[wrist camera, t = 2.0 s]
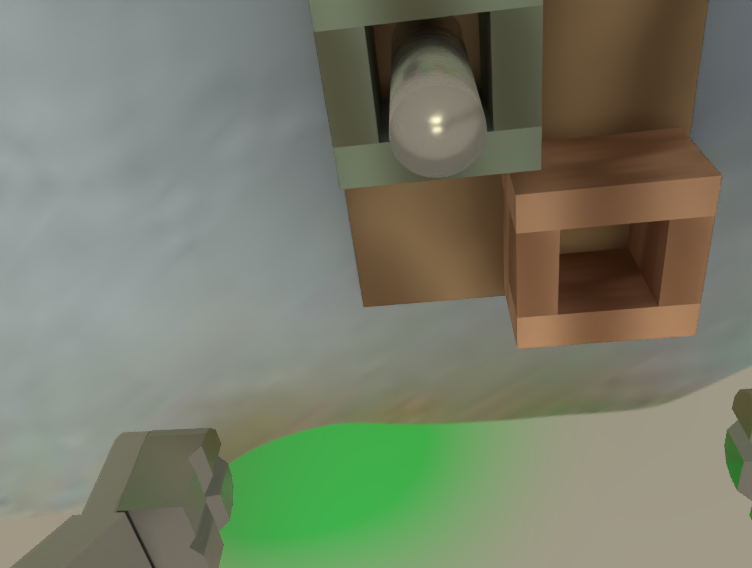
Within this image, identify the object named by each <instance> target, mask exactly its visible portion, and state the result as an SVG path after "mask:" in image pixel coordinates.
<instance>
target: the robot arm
mask: <svg viewBox="0 0 752 568" xmlns="http://www.w3.org/2000/svg"><path fill="white" fill-rule="evenodd" d="M732 410H733V411H734V413H735V415H736V417H737V419H738V420H737V421H736V422H735V423H734V424H733V425H732V426H731V427H730V428H728V429H727V434H726V439H725V445H724V446H725V455H726V464H727V467H728V470H729V474H730V476H731V479H732V481H733V483H734V485H735V487H736V489H737V491H739V492H740V493H742V494H743V495H745V496H746V497H747V498H749V499H750V500H752V389H742V390H739V392H738V393H737V394H736V396H735V398H734V402H733V406H732ZM220 447H221V442H220V439H219V437H218V434H217V432H216V430H215V429H212V428H195V429H174V430H152V431H145V432H123V433H122V434H121V435H119V436H118V437H117V438H116V439H115V441H114V443H113V446H112V448H111V450H110V452H109V454H108V457H107V459H106V461H105V463H104V466H103V468H102V470H101V472H100V474H99V477H98V479H97V481H96V483H95V486H94V488H93V490H92V492H91V494H90V497H89V499H88V501H87V503H86V506H85V508H84V510H83V512H82V514H81V515H72V516H71V517H70V518H69V519H68V520H67V521H65V522H64V523H63V524H62V525H60V526H59V527H58V528H57V529H56V530H55V531H53V532H52V533H51V534H50V535H48V536H47V537H46V538H45V539H44V540H42V541H41V542H40V543H39V544H38V545H37V546H35V547H34V548H33V549H32V550H31V551H29V552H28V553H27V554H26V555H25V556H23V557H22V558H21V559H20V560H19V561H18V562H16V563H15V564H14V565H13V566H12V567H10V568H218V567H219V563H220V559H221V555H222V550H223V546H224V544H223V542H222V539H221V536H220V533H219V531H220V530H221V529H222V528H223V527H224V526H225V525H226V524H227V523H228V522H229V521H230V516H231V511H232V506H233V481H232V474H231V471H230V468H229V465H228V463H227V462H226V461H225V460H223V459H222V458H220V457H219V456H218V454H219V451H220ZM750 517H751V519H752V508H751V512H750Z"/></svg>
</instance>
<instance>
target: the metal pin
mask: <svg viewBox="0 0 752 568" xmlns="http://www.w3.org/2000/svg"><path fill="white" fill-rule="evenodd" d="M486 135H487V125H486V119H485V115H484V112H483V108H482V105H481V101H480V97H479V94H478V90H477V86H476V83H475V79H474V76H473V72H472V68H471V65H470V61H469V57H468V54H467V50H466V46H465V43H464V39H463V36H462V32H461V29H460V26H459V24H458V22H457V21H456V19H455V18H454V17H453V16H446V17H437V18H429V19H420V20H412V21H404V22H398V23H397V25H396V27H395V29H394V32H393V36H392V52H391V82H390V111H389V141H390V145H391V148H392V151H393V153H394V155H395V156H396V158H397V159H398V161H399V162H400V163H401V164H402V165H403V166H404V167H406V168H407V169H408V170H410V171H411V172H414V173H416V174H418V175H421V176H425V177H431V178H442V177H448V176H451V175H454V174H457V173H459V172H461V171H463V170H464V169H466V168H467V167H468V166H470V165H471V164H472V163H473V162H474V161H475V160H476V158H477V157H478V156H479V154H480V153H481V151H482V149H483V147H484V144H485V140H486Z"/></svg>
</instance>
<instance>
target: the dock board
mask: <svg viewBox="0 0 752 568" xmlns="http://www.w3.org/2000/svg"><path fill="white" fill-rule="evenodd" d="M708 2H709V0H309V6H310V12H311V18H312V24H313V30H314V36H315V43H316V49H317V55H318V61H319V67H320V73H321V79H322V85H323V91H324V97H325V103H326V109H327V115H328V121H329V127H330V133H331V139H332V145H333V151H334V157H335V163H336V169H337V175H338V181H339V187H340V189H345V195H346V201H347V207H348V214H349V220H350V226H351V232H352V238H353V245H354V251H355V257H356V263H357V269H358V275H359V282H360V288H361V294H362V300H363V306H364V307H371V306H383V305H395V304H408V303H420V302H432V301H444V300H456V299H469V298H481V297H493V296H505V295H506V299H507V303H508V308H509V312H510V317H511V322H512V326H513V331H514V335H515V340H516V345H517V349H520V348H533V347H547V346H560V345H574V344H587V343H600V342H614V341H627V340H640V339H654V338H667V337H680V336H694V335H695V333H696V327H697V322H698V316H699V310H700V304H701V298H702V292H703V286H704V280H705V274H706V268H707V263H708V257H709V251H710V245H711V239H712V233H713V227H714V221H715V215H716V209H717V204H718V198H719V192H720V186H721V180H722V175H721V174H720V172H719V171H718V170H717V169H716V168H715V167H714V166H713V164H712V163H711V162H710V161H709V160H708V159H707V158H706V156H705V155H704V154H703V153H702V152H701V151H700V150H699V148H698V147H697V146H696V145H695V144H694V143H693V142H692V140H691V139H690V133H691V126H692V119H693V111H694V104H695V97H696V89H697V82H698V75H699V67H700V60H701V53H702V45H703V38H704V31H705V23H706V16H707V9H708ZM446 16H453V17H454V18H455V19H456V21H457V22H458V24H459V26H460V29H461V32H462V36H463V39H464V43H465V46H466V50H467V54H468V57H469V61H470V65H471V68H472V72H473V76H474V79H475V83H476V86H477V90H478V94H479V97H480V101H481V105H482V108H483V112H484V115H485V119H486V125H487V135H486V140H485V144H484V147H483V149H482V151H481V153H480V154H479V156H478V157H477V158H476V160H475V161H474V162H473V163H472V164H471V165H470V166H468V167H467V168H466V169H464V170H463V171H461V172H459V173H457V174H454V175H451V176H448V177H442V178H431V177H425V176H421V175H418V174H416V173H414V172H411V171H410V170H408V169H407V168H406V167H404V166H403V165H402V164H401V163H400V162H399V161H398V159H397V158H396V156H395V155H394V153H393V151H392V148H391V145H390V141H389V111H390V82H391V52H392V36H393V32H394V29H395V27H396V25H397V23H398V22H404V21H412V20H420V19H429V18H437V17H446Z"/></svg>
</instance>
